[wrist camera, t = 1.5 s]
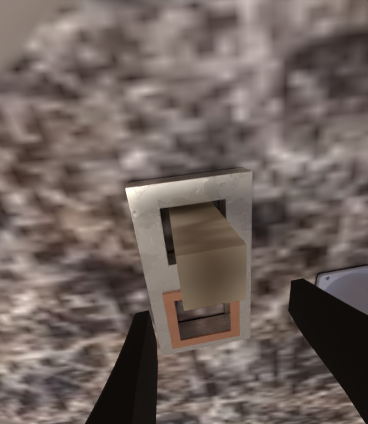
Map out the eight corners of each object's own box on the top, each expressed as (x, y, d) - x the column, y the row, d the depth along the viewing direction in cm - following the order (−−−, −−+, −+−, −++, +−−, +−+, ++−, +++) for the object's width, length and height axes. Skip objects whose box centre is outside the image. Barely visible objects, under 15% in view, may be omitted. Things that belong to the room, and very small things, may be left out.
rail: (242, 167, 18) (253, 171, 16) (243, 323, 25) (250, 339, 23) (128, 182, 17) (125, 188, 15) (161, 338, 24) (162, 357, 22)
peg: (211, 201, 19) (246, 244, 11) (213, 239, 20) (246, 299, 13) (168, 207, 19) (176, 256, 11) (173, 245, 20) (184, 310, 13)
